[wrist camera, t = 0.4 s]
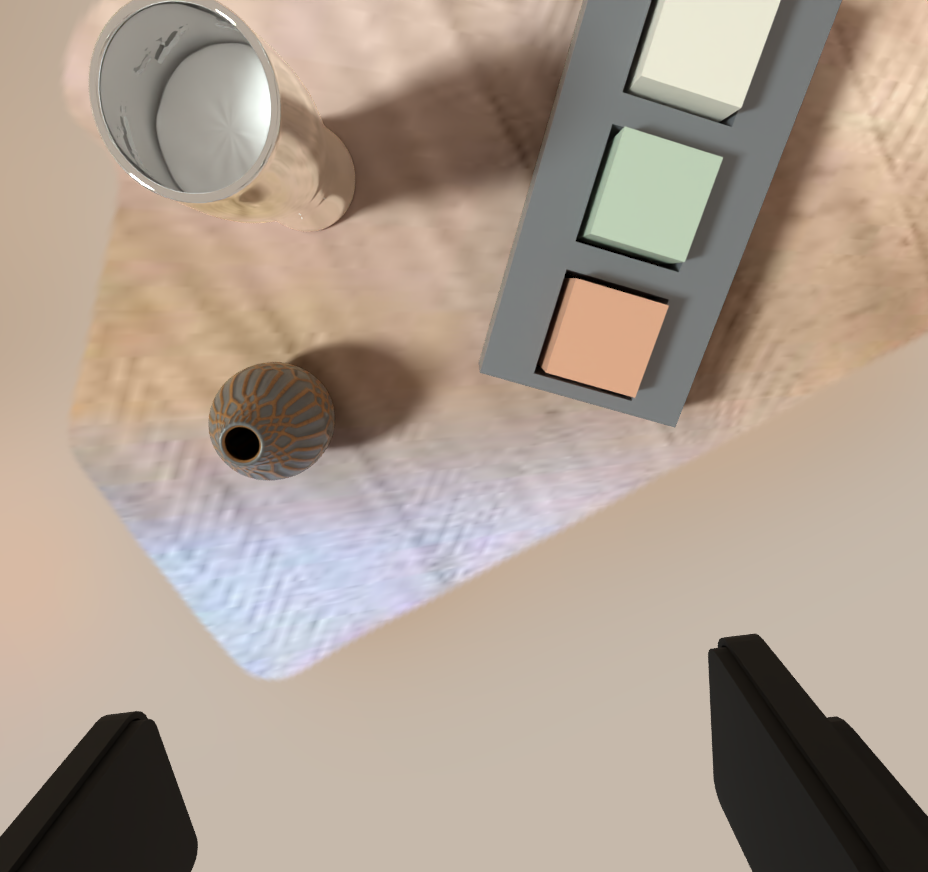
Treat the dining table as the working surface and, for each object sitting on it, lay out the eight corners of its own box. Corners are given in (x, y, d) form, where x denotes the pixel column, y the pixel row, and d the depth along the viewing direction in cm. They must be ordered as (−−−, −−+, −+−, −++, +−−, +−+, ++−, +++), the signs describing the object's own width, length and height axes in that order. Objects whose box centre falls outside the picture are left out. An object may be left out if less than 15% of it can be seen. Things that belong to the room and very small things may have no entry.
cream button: (653, -5, 30) (680, -48, 26) (744, 25, 30) (785, -12, 27) (619, 101, 31) (641, 75, 28) (708, 129, 32) (741, 107, 28)
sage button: (605, 145, 32) (625, 126, 28) (692, 172, 32) (723, 157, 28) (576, 239, 33) (590, 233, 29) (659, 264, 34) (684, 262, 30)
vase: (363, 392, 37) (333, 424, 29) (313, 476, 39) (270, 530, 30) (270, 335, 36) (210, 350, 28) (222, 423, 38) (151, 463, 29)
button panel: (593, -36, 31) (611, -82, 27) (797, 32, 32) (843, -3, 28) (478, 363, 37) (479, 372, 33) (653, 412, 37) (675, 427, 34)
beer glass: (226, 196, 34) (49, 134, 20) (280, 87, 33) (132, -69, 18) (327, 262, 35) (229, 248, 21) (385, 158, 34) (322, 65, 19)
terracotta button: (563, 278, 34) (576, 278, 30) (646, 302, 34) (668, 305, 30) (537, 362, 35) (545, 372, 31) (616, 385, 36) (635, 397, 32)
